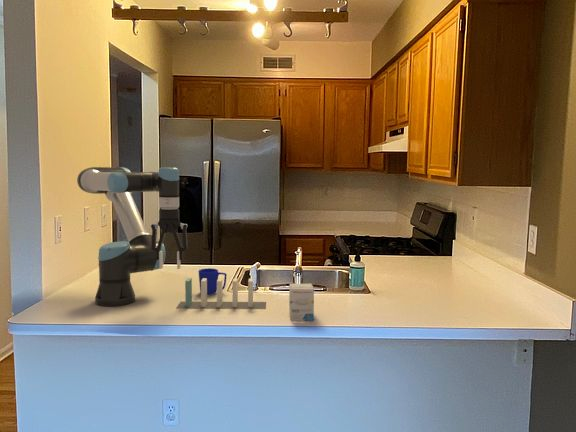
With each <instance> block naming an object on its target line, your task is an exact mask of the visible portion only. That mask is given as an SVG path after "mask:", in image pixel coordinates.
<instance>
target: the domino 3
mask: <svg viewBox="0 0 576 432" xmlns="http://www.w3.org/2000/svg"><path fill="white" fill-rule="evenodd" d="M238 282H239V281H238V278H233V279H232V302H233V307H237V304H238V302H239V297H238V296H239V295H238V294H239V292H238V291H239V289H238V288H239V286H238V284H239V283H238Z"/></svg>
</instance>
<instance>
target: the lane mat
mask: <svg viewBox="0 0 576 432" xmlns="http://www.w3.org/2000/svg"><path fill="white" fill-rule="evenodd" d="M175 309H177V310H188V309H189V310H190V309H191V310H199V309H200V310H202V309H203V310H239V309H240V310H266V309H267V301H253V306H252V307H248V301H238V304H237V307H233V301H222V306H221V307H217V301H207V305H206V307H201V301H192V304H191V306H190V307H186V301H183V300H182V301H179V303H178V304H177V306H176V308H175Z"/></svg>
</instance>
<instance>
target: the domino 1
mask: <svg viewBox="0 0 576 432" xmlns="http://www.w3.org/2000/svg"><path fill="white" fill-rule="evenodd" d="M200 302H201V307H206V305H207V302H208V294H207V278H203V279H202V280H201V292H200Z"/></svg>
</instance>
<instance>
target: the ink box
mask: <svg viewBox="0 0 576 432" xmlns="http://www.w3.org/2000/svg"><path fill="white" fill-rule="evenodd" d="M288 299H289V302H288V303H289V311H288V313H289V320H290V321H293V320H295V321H296V320H297V321H302V320H303V321H306V322H307V321H309V322H310V321H314V318H315V317H314V314H315V311H314V309H315V308H314V306H315V305H314V304H315V300H314V299H315V288H314V286H313V284H312V283H289V297H288Z"/></svg>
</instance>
